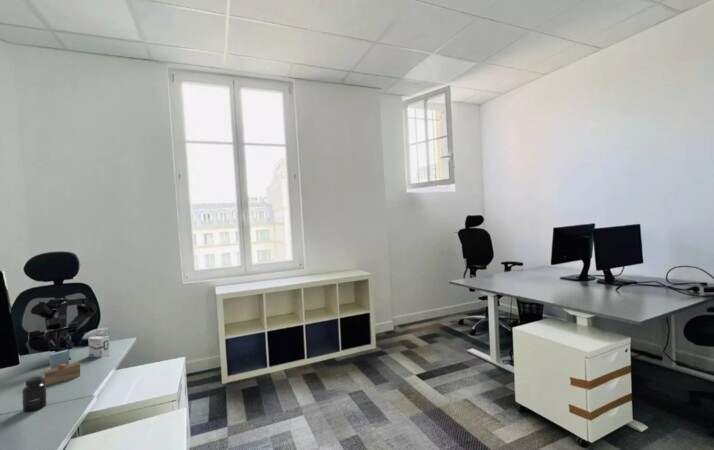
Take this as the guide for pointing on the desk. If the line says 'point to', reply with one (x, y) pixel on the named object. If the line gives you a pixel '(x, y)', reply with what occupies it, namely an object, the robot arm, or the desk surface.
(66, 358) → the blue white block
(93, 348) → the ink box
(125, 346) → the desk surface
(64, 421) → the desk surface
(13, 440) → the desk surface
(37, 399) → the supplement bottle
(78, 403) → the desk surface
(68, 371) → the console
